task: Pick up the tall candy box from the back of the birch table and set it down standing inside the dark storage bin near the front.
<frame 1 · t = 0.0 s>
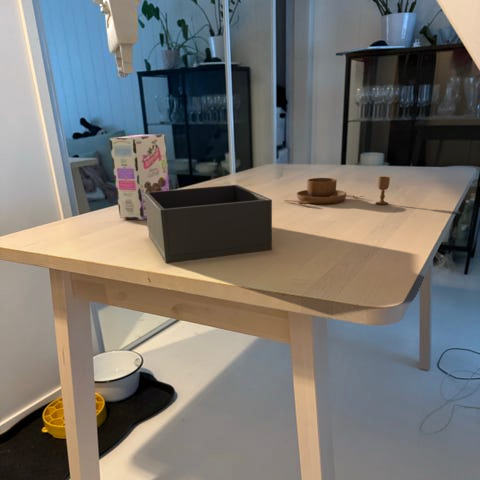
hand: (125, 75, 91), 28 cm above the table, tool pointing down, fingers open, 8 cm apart
dark storage bin: (206, 242, 80), on the table
place setting: (333, 203, 109), on the table
candy box: (147, 214, 104), on the table
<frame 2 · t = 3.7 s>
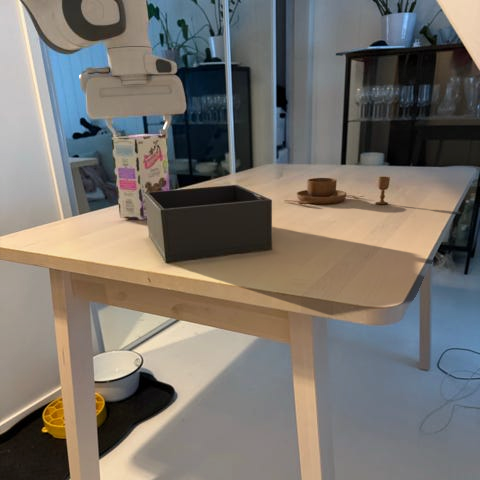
hand: (141, 140, 98), 15 cm above the table, tool pointing down, fingers closed on candy box, 8 cm apart
candy box: (147, 214, 104), on the table, touching gripper
everything else where it was.
when the fingers open (11 cm above the table, at t = 14.1 s): candy box stays where it is, resting on dark storage bin.
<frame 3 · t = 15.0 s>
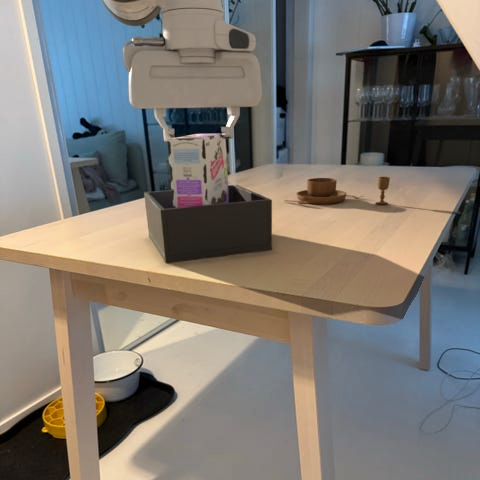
hand: (199, 139, 73), 17 cm above the table, tool pointing down, fingers open, 8 cm apart
candy box: (205, 239, 79), point 1 cm above the table, touching dark storage bin
everything else where it was.
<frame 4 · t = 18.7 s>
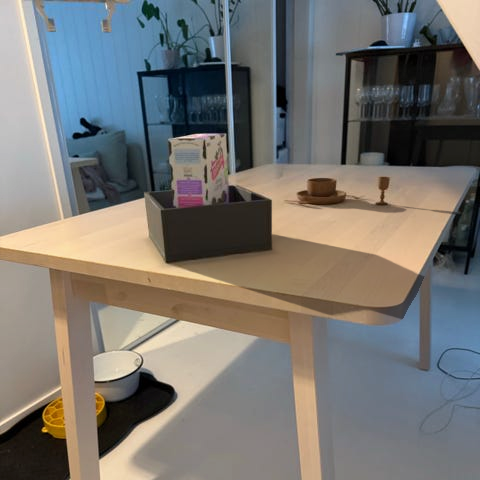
hand: (79, 31, 81), 34 cm above the table, tool pointing down, fingers open, 8 cm apart
nothing on the table moved.
at the end: candy box inside the target area in the dark storage bin (0.7 cm from its centre), point 0.8 cm above the dark storage bin's base; the gripper is holding nothing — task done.
